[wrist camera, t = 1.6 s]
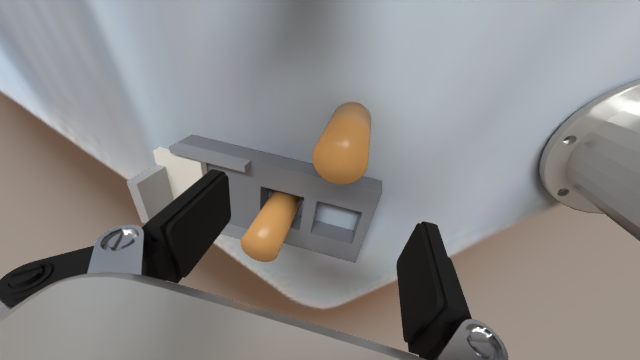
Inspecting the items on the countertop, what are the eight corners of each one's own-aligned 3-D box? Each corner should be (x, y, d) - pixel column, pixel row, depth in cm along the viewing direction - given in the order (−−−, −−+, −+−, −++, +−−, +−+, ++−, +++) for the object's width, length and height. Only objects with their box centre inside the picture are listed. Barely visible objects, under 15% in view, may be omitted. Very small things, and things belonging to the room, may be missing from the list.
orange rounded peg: (375, 107, 23) (375, 141, 15) (365, 143, 25) (360, 189, 18) (336, 98, 23) (316, 128, 16) (329, 135, 25) (309, 177, 18)
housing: (381, 181, 27) (382, 200, 24) (356, 248, 34) (354, 271, 30) (192, 134, 29) (168, 147, 26) (203, 207, 36) (186, 224, 32)
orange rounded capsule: (303, 189, 30) (278, 240, 22) (300, 212, 32) (276, 266, 25) (273, 181, 30) (239, 229, 23) (272, 205, 32) (241, 255, 25)
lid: (205, 159, 27) (174, 181, 23) (213, 218, 32) (189, 245, 28) (159, 147, 28) (121, 166, 24) (174, 207, 33) (145, 232, 29)
